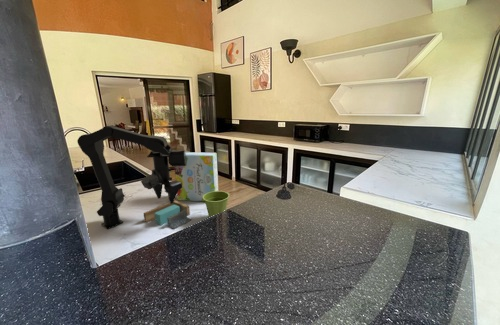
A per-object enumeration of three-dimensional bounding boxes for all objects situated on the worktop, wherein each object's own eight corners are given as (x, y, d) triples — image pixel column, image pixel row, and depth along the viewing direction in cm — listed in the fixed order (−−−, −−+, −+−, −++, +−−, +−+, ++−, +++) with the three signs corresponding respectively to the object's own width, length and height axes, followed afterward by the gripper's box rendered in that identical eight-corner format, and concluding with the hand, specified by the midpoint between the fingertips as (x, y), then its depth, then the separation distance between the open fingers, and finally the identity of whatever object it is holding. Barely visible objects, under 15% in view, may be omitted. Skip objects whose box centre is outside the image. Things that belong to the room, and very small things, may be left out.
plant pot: (229, 211, 103) (228, 189, 100) (230, 224, 92) (230, 200, 89) (204, 213, 101) (203, 191, 98) (203, 226, 90) (201, 202, 87)
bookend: (168, 226, 90) (167, 217, 89) (185, 217, 97) (184, 209, 96) (174, 229, 88) (173, 220, 87) (191, 220, 95) (190, 212, 94)
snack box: (219, 195, 121) (217, 152, 114) (215, 202, 113) (213, 155, 106) (183, 194, 123) (179, 151, 116) (176, 200, 115) (172, 154, 108)
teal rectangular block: (155, 223, 93) (154, 212, 92) (175, 213, 101) (174, 204, 100) (161, 226, 91) (159, 215, 89) (180, 216, 99) (179, 206, 97)
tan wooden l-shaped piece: (144, 222, 93) (143, 212, 92) (175, 208, 106) (174, 200, 105) (158, 230, 87) (157, 220, 86) (189, 214, 100) (189, 205, 99)
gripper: (130, 167, 88) (136, 202, 92) (156, 175, 77) (160, 214, 81) (155, 162, 96) (159, 193, 100) (181, 168, 86) (184, 203, 90)
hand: (165, 200), depth 93 cm, fingers open, 9 cm apart
